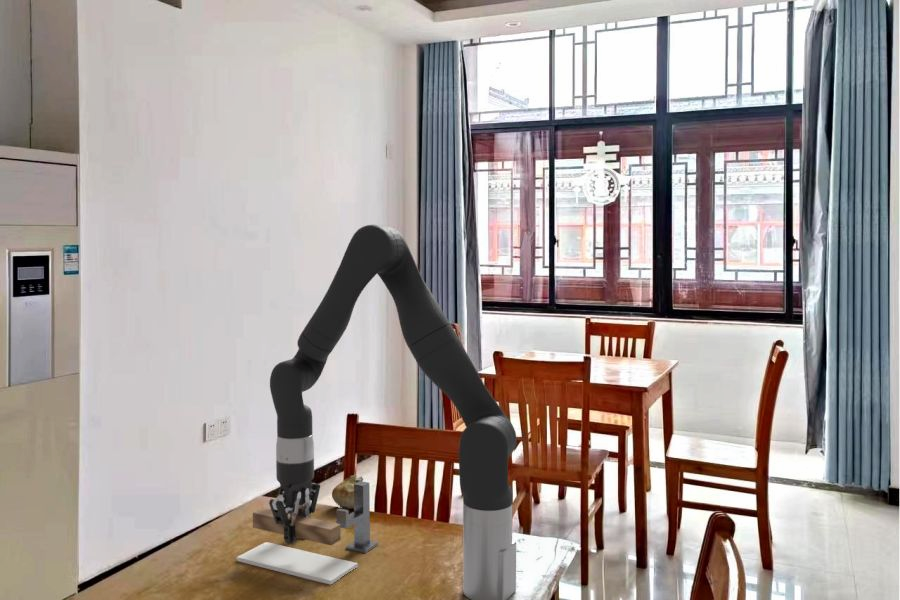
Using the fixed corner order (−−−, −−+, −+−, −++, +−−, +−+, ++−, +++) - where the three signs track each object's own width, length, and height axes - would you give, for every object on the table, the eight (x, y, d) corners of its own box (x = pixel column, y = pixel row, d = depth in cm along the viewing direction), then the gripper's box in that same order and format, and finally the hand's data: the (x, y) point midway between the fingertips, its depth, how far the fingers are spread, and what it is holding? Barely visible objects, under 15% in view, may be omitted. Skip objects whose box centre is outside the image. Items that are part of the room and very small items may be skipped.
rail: (340, 539, 149) (340, 524, 148) (330, 545, 146) (330, 529, 146) (263, 522, 158) (263, 507, 158) (252, 527, 155) (252, 512, 155)
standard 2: (378, 544, 162) (377, 481, 161) (351, 562, 153) (350, 495, 152) (359, 540, 164) (358, 478, 163) (331, 557, 155) (331, 491, 154)
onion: (333, 502, 189) (333, 471, 189) (365, 502, 190) (364, 471, 189) (330, 513, 182) (330, 481, 181) (363, 512, 182) (363, 480, 182)
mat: (357, 567, 151) (357, 563, 151) (331, 584, 143) (331, 580, 143) (266, 545, 162) (266, 541, 162) (236, 560, 154) (236, 557, 154)
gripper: (287, 468, 143) (288, 555, 144) (331, 450, 155) (331, 531, 156) (257, 463, 146) (258, 548, 147) (302, 446, 159) (303, 525, 160)
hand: (296, 539), depth 152 cm, fingers closed on rail, 3 cm apart
